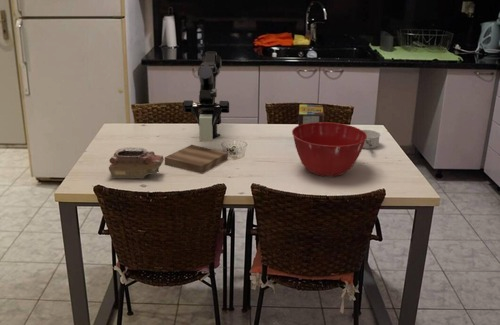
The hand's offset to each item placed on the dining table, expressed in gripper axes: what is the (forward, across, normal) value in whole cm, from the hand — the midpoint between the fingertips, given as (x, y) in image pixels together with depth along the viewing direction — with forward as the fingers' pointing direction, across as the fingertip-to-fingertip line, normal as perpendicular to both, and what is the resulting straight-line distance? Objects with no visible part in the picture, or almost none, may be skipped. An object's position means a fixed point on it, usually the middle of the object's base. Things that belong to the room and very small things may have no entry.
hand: (205, 125), depth 236 cm
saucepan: (+2, +68, +18) cm, 71 cm away
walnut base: (+14, -3, +5) cm, 15 cm away
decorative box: (+24, -24, -5) cm, 35 cm away
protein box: (-3, +44, +23) cm, 50 cm away
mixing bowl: (+20, +48, 0) cm, 52 cm away
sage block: (+4, 0, +6) cm, 7 cm away
